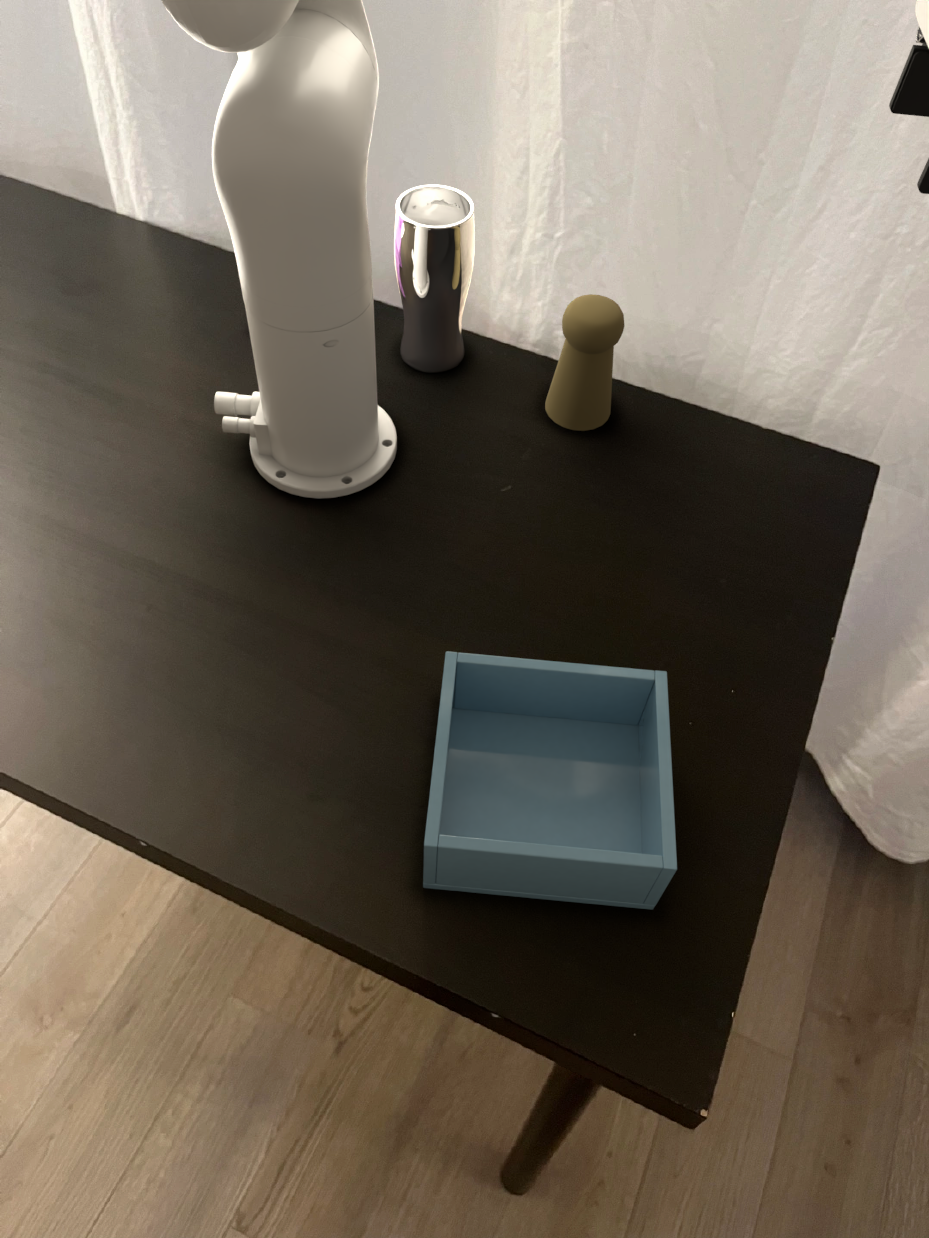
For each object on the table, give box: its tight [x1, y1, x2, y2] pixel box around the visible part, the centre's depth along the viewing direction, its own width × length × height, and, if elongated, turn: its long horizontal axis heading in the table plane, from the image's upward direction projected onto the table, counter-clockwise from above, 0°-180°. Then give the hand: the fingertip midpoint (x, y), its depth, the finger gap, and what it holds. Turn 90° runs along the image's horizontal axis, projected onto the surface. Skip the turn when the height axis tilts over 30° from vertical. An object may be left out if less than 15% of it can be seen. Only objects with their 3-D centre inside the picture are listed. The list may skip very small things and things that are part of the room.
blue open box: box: [422, 650, 678, 911], centre depth 61 cm, size 15×14×7 cm
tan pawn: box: [544, 293, 625, 432], centre depth 83 cm, size 6×6×11 cm
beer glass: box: [393, 184, 476, 374], centre depth 85 cm, size 7×7×15 cm
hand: (926, 151), depth 60 cm, fingers open, 9 cm apart
